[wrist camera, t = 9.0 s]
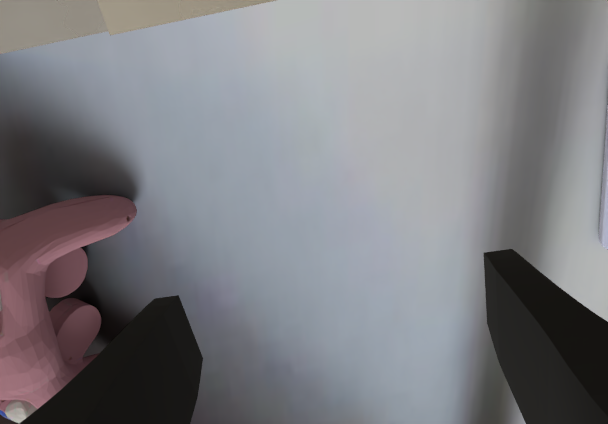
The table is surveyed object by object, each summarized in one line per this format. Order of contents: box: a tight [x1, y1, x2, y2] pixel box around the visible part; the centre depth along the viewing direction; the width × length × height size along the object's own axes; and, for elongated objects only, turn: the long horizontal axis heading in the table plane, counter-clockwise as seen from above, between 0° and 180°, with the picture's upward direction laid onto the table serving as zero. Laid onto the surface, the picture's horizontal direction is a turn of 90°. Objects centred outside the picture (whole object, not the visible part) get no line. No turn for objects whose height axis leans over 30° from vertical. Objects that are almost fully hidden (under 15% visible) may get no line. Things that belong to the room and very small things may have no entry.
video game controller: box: [0, 195, 137, 423], centre depth 22 cm, size 10×5×7 cm, turn 0°
